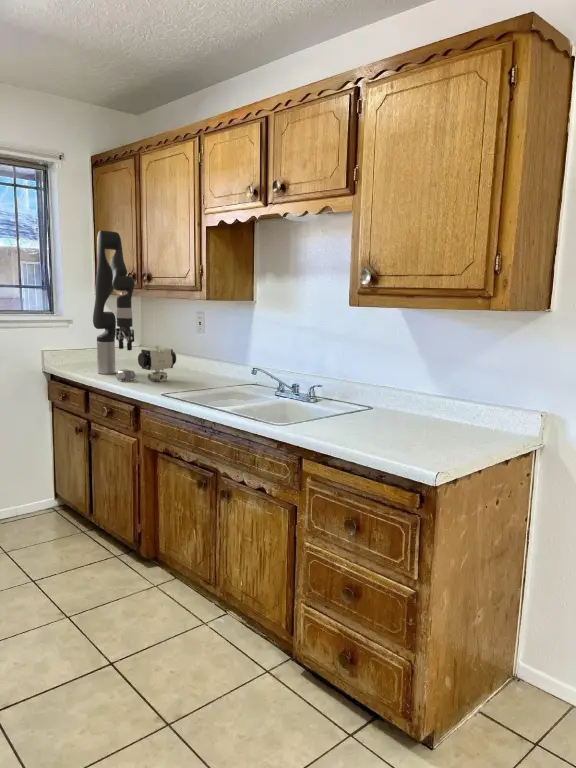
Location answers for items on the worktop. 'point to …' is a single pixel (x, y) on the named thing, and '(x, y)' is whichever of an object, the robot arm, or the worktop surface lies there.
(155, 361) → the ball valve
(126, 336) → the robot arm
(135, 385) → the worktop surface
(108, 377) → the worktop surface
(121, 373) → the coupling
